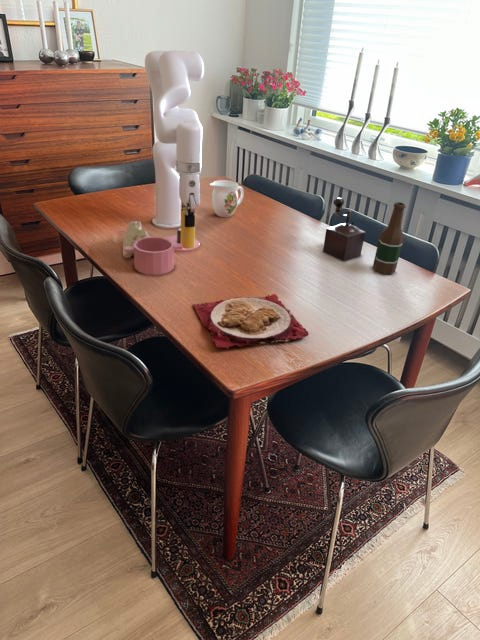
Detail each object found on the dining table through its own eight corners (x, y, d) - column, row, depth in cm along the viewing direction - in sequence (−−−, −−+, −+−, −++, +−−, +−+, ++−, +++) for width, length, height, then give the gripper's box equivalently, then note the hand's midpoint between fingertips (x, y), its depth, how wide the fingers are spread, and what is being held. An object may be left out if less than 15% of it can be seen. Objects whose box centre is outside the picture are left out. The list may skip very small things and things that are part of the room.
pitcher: (250, 214, 210) (253, 182, 202) (217, 221, 199) (218, 188, 192) (233, 206, 216) (236, 175, 209) (201, 213, 206) (202, 181, 199)
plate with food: (309, 340, 130) (311, 329, 128) (216, 351, 121) (217, 339, 119) (275, 298, 149) (276, 288, 147) (193, 305, 140) (193, 294, 139)
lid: (158, 238, 180) (158, 223, 177) (194, 237, 184) (195, 222, 181) (165, 254, 169) (164, 237, 166) (203, 251, 173) (203, 236, 170)
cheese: (146, 268, 163) (168, 232, 167) (130, 256, 158) (153, 218, 162) (123, 266, 174) (143, 231, 178) (107, 254, 169) (128, 219, 173)
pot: (124, 260, 162) (122, 238, 158) (177, 257, 167) (177, 235, 163) (128, 277, 152) (127, 254, 148) (185, 273, 157) (185, 250, 153)
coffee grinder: (362, 255, 180) (373, 208, 171) (343, 261, 174) (353, 213, 165) (331, 241, 190) (339, 195, 181) (311, 246, 184) (319, 200, 175)
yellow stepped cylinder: (179, 243, 163) (179, 205, 156) (192, 242, 164) (193, 205, 158) (182, 248, 159) (182, 210, 153) (195, 248, 161) (196, 209, 154)
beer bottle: (395, 268, 173) (413, 202, 160) (394, 277, 166) (412, 209, 154) (373, 264, 174) (388, 198, 162) (371, 272, 168) (387, 204, 156)
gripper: (207, 174, 143) (205, 232, 152) (194, 159, 156) (193, 214, 166) (182, 174, 141) (181, 234, 150) (171, 159, 154) (171, 215, 164)
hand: (187, 223), depth 158 cm, fingers closed on yellow stepped cylinder, 4 cm apart
